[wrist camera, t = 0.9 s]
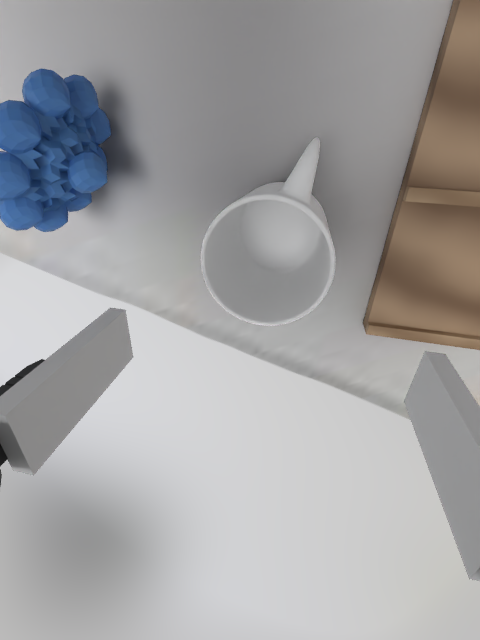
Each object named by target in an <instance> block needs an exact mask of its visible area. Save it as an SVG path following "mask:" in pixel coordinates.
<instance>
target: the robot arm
mask: <svg viewBox="0 0 480 640" xmlns="http://www.w3.org/2000/svg"><path fill="white" fill-rule="evenodd" d="M132 358H133V353H132V347H131V341H130V335H129V329H128V323H127V317H126V310H123V309H116V308H110V309H108V310H107V311H106V312H105V313H103V314H102V315H101V316H100V317H99V318H97V319H96V320H95V321H93V322H92V323H91V324H90V325H88V326H87V327H86V328H85V329H83V330H82V331H81V332H80V333H79V334H77V335H76V336H75V337H74V338H72V339H71V340H70V341H68V342H67V343H66V344H65V345H63V346H62V347H61V348H60V349H59V350H57V351H56V352H55V353H54V354H52V355H51V356H50V357H49V358H47V359H46V360H43V359H41V360H39V361H37V362H35V363H33V364H31V365H29V366H27V367H26V368H24V369H23V370H22V371H20V372H19V373H18V374H17V375H15V377H13V378H11V379H10V380H9V381H7V382H6V384H5V385H2V386H1V387H0V466H1V465H2V464H3V463H4V462H5V461H6V460H7V459H8V461H9V463H10V465H11V467H12V469H13V470H14V471H18V472H22V473H26V474H30V475H34V474H35V473H36V472H37V471H38V469H39V468H40V467H41V466H42V465H43V464H44V462H45V461H46V460H47V459H48V458H49V456H50V455H51V454H52V453H53V452H54V451H55V449H56V448H57V447H58V445H60V443H61V442H62V441H63V440H64V439H65V437H66V436H67V435H68V434H69V433H70V431H71V430H72V429H73V428H74V427H75V425H76V424H77V423H78V422H79V421H80V419H81V418H82V417H83V416H84V415H85V414H86V413H87V411H88V410H89V409H90V408H91V407H92V405H93V404H94V403H95V402H96V401H97V399H98V398H99V397H100V396H101V395H102V394H103V392H104V391H105V390H106V389H107V388H108V386H109V385H110V384H111V383H112V382H113V380H114V379H115V378H116V377H117V376H118V374H119V373H120V372H121V371H122V370H123V369H124V367H125V366H126V365H127V364H128V363H129V361H130V360H131V359H132ZM404 403H405V405H406V408H407V411H408V414H409V416H410V419H411V422H412V424H413V427H414V430H415V433H416V435H417V438H418V441H419V443H420V446H421V449H422V452H423V454H424V457H425V460H426V462H427V465H428V468H429V471H430V473H431V476H432V479H433V482H434V484H435V487H436V490H437V492H438V495H439V498H440V500H441V503H442V506H443V509H444V511H445V514H446V517H447V520H448V522H449V525H450V527H451V530H452V533H453V536H454V539H455V541H456V544H457V546H458V549H459V552H460V555H461V558H462V560H463V563H464V566H465V568H466V571H467V574H468V576H469V579H472V580H477V581H480V407H479V405H478V404H477V402H476V400H475V399H474V397H473V396H472V394H471V393H470V391H469V390H468V388H467V387H466V385H465V384H464V382H463V381H462V379H461V377H460V376H459V374H458V373H457V371H456V370H455V368H454V367H453V365H452V364H451V362H450V361H449V359H448V357H447V356H446V354H440V353H433V352H426V351H425V352H424V355H423V357H422V360H421V362H420V364H419V367H418V369H417V371H416V374H415V376H414V379H413V381H412V383H411V386H410V388H409V391H408V393H407V395H406V398H405V400H404ZM1 475H2V474H1V470H0V485H1Z"/></svg>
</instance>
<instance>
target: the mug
mask: <svg viewBox="0 0 480 640" xmlns="http://www.w3.org/2000/svg"><path fill="white" fill-rule="evenodd" d="M319 153H320V139H319V138H318V137H315V138H313V140H312V141H311V142H310V143H309V145H308V146H307V148H306V149H305V151H304V152H303V154H302V156H301V157H300V159H299V161H298V162H297V164H296V166H295V167H294V169H293V171H292V172H291V174H290V176H289V177H288V179H287V180H286V182H275V183H269V184H265V185H263V186H260V187H258V188H256V189H254V190H253V191H251V192H249V193H248V194H246V195H245V196H243V197H241V198H240V199H238V200H237V201H235V202H234V203H232V204H230V205H229V206H227V207H226V208H225V209H224V210H222V211H221V212H220V213H219V214H218V215H217V216H216V217H215V219H214V220H213V221H212V223H211V224H210V226H209V228H208V230H207V232H206V234H205V237H204V239H203V243H202V247H201V257H200V258H201V269H202V275H203V278H204V281H205V283H206V286H207V288H208V290H209V292H210V293H211V295H212V296H213V298H214V299H215V300H216V302H217V303H218V304H219V305H220V306H221V307H222V308H223V309H225V310H226V311H227V312H228V313H230V314H231V315H233V316H234V317H236V318H238V319H240V320H242V321H245V322H248V323H251V324H256V325H262V326H276V325H283V324H287V323H291V322H293V321H296V320H298V319H300V318H302V317H304V316H306V315H307V314H308V313H310V312H311V311H312V310H314V309H315V308H316V307H317V306H318V305H319V304H320V303H321V301H322V300H323V299H324V297H325V296H326V294H327V293H328V291H329V289H330V287H331V284H332V281H333V278H334V273H335V267H336V256H335V249H334V245H333V241H332V237H331V234H330V230H329V226H328V223H327V219H326V215H325V213H324V210H323V208H322V206H321V205H320V203H319V202H318V201H317V199H316V198H315V197H314V196H313V195H312V194H311V193H312V188H313V183H314V179H315V174H316V169H317V164H318V159H319Z"/></svg>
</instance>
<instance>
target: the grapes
mask: <svg viewBox="0 0 480 640" xmlns="http://www.w3.org/2000/svg"><path fill="white" fill-rule="evenodd" d="M22 93H23V98H24V102H25V103H24V102H22V101H13V100H8V101H5V102H3V103H1V104H0V148H1V149H3V150H5V151H7V152H5V151H0V219H1V220H2V222H3V223H4V224H5V225H6V227H8V228H11V229H14V230H16V231H18V230H27V229H29V228H31V227H33V226H34V227H35V228H36V229H38V230H40V231H43V232H49V231H54V230H56V229H58V228H60V227H62V226H63V225H64V224H65V223H67V222H68V211H69V212H73V211H79V210H81V209H83V208H85V207H86V206H87V205H89V204H90V203H91V202H92V196H91V193H92V192H94V191H96V190H98V189H100V188H101V187H102V186H103V185H104V184H106V183H107V172H106V171H107V170H108V169H107V160H106V156H105V154H104V152H103V150H102V148H100V147H99V146H98V145H99V144H101V143H103V142H104V141H105V140H106V139H108V138H109V136H110V135H111V128H110V123H109V120H108V118H107V116H106V114H105V112H104V111H103V110H101V109H100V108H99V107H98V99H97V93H96V91H95V89H94V87H93V85H92V83H91V82H89V81H88V80H87V79H86V78H85V77H84V76H79V75H72V76H69V77H67V78H65V79H64V80H63V78H62V77H60V76H59V75H58V74H57V73H55V72H54V71H52V70H47V69H39V70H36V71H34V72H31V73H30V74H29V75H28V76H27V78H26V79H25V80H24V83H23V89H22Z"/></svg>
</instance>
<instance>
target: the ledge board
mask: <svg viewBox="0 0 480 640" xmlns="http://www.w3.org/2000/svg"><path fill="white" fill-rule="evenodd" d="M363 325H364V328H365V331H366V334H369V335H376V336H383V337H390V338H398V339H405V340H412V341H419V342H426V343H434V344H441V345H448V346H455V347H462V348H470V349H477V350H480V0H453V4H452V7H451V11H450V15H449V18H448V22H447V25H446V29H445V32H444V36H443V39H442V43H441V47H440V50H439V54H438V57H437V61H436V64H435V68H434V72H433V75H432V79H431V82H430V86H429V89H428V93H427V97H426V100H425V104H424V107H423V111H422V114H421V118H420V121H419V125H418V129H417V132H416V136H415V139H414V143H413V146H412V150H411V154H410V157H409V161H408V164H407V168H406V171H405V175H404V178H403V182H402V186H401V189H400V193H399V196H398V200H397V203H396V207H395V211H394V214H393V218H392V221H391V225H390V228H389V232H388V236H387V239H386V243H385V246H384V250H383V253H382V257H381V260H380V264H379V268H378V271H377V275H376V278H375V282H374V285H373V289H372V293H371V296H370V300H369V303H368V307H367V310H366V314H365V317H364V321H363Z"/></svg>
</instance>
